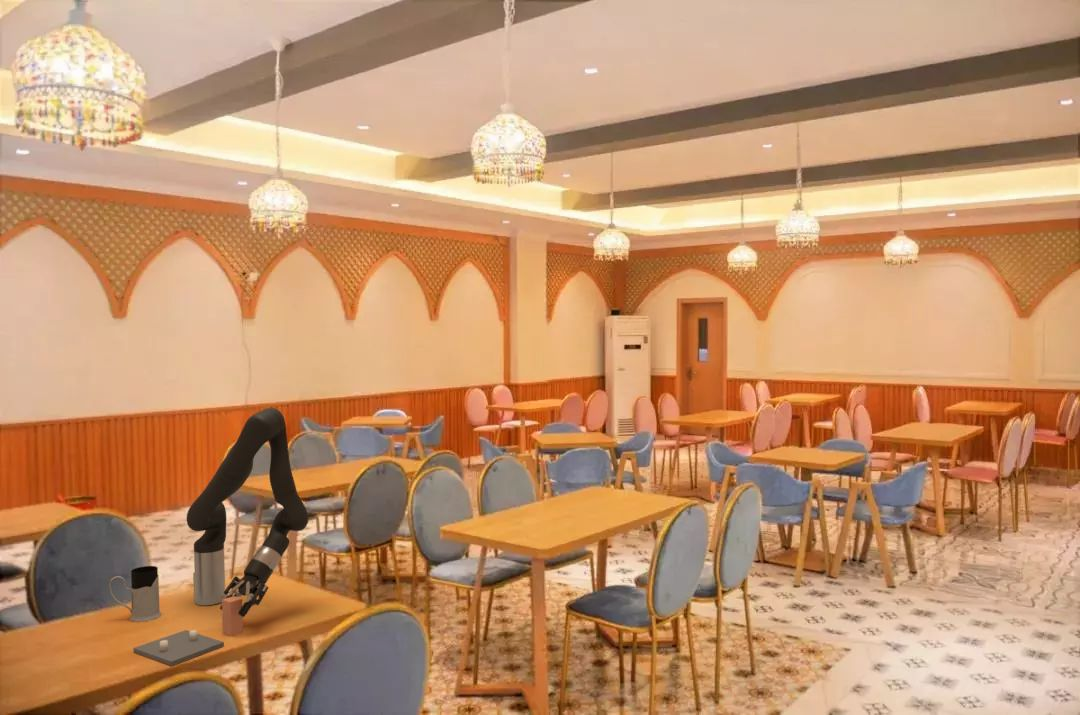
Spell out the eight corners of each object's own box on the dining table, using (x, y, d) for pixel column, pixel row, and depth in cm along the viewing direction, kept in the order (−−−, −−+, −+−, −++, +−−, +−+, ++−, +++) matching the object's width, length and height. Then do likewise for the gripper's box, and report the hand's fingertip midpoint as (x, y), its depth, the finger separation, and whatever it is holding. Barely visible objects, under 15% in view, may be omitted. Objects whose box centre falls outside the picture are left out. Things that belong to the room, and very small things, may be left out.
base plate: (133, 652, 229) (133, 639, 229) (185, 634, 242) (185, 621, 242) (171, 666, 219) (171, 652, 219) (224, 646, 232) (223, 633, 232)
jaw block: (222, 633, 242) (221, 599, 242) (234, 629, 246) (233, 596, 245) (231, 636, 240) (230, 602, 240) (243, 631, 244) (242, 598, 243)
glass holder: (160, 619, 255) (158, 571, 255) (109, 626, 250) (107, 577, 250) (162, 610, 263) (160, 564, 263) (112, 616, 258) (110, 569, 258)
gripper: (240, 554, 253) (208, 602, 244) (270, 561, 245) (238, 610, 236) (255, 567, 258) (224, 615, 249) (285, 574, 250) (254, 623, 241)
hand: (231, 612), depth 242 cm, fingers open, 8 cm apart
